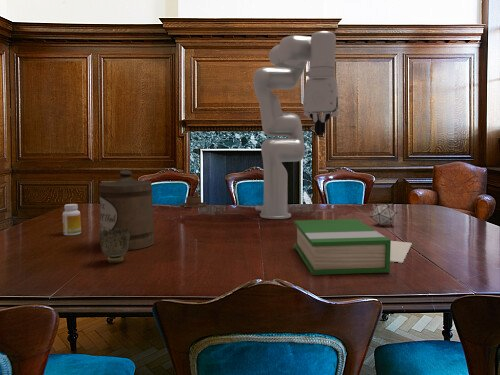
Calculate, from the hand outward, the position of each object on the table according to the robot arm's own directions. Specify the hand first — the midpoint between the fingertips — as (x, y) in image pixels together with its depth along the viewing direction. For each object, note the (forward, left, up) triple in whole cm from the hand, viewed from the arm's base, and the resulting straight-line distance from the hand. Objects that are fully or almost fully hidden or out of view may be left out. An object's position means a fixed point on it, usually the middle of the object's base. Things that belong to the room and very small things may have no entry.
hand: (319, 135), depth 128 cm
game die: (+16, +26, -32) cm, 44 cm away
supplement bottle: (-73, -33, -32) cm, 86 cm away
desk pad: (+18, -10, -32) cm, 38 cm away
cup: (-36, -51, -32) cm, 70 cm away
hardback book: (+6, -14, -28) cm, 32 cm away
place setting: (-73, +40, -33) cm, 90 cm away
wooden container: (-46, -36, -32) cm, 67 cm away
